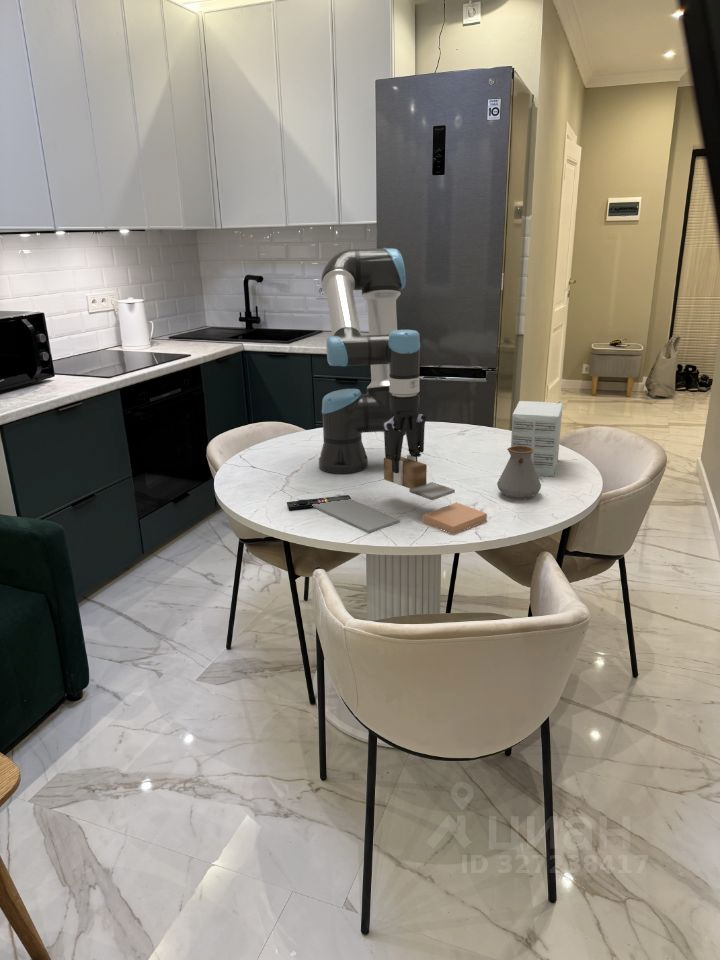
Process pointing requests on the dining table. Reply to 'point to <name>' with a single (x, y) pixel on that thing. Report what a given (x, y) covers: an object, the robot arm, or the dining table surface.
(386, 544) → the dining table surface
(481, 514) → the tile
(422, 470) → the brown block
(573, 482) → the dining table surface
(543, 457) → the supplement box
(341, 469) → the robot arm
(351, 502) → the rest mat
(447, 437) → the dining table surface
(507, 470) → the coffee pot
